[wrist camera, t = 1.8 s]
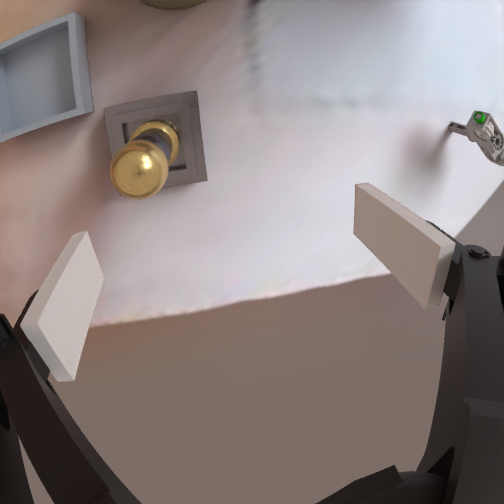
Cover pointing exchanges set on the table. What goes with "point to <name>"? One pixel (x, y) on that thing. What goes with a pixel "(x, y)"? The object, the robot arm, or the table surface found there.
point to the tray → (44, 76)
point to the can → (172, 4)
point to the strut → (145, 160)
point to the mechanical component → (483, 135)
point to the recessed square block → (177, 115)
